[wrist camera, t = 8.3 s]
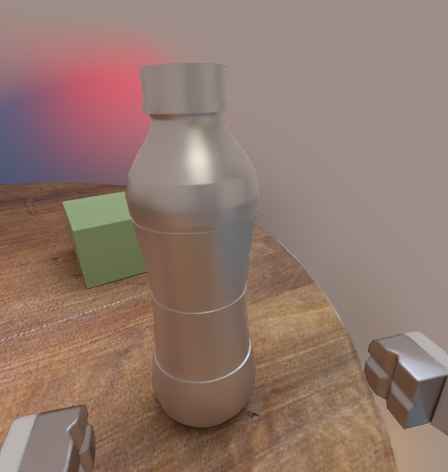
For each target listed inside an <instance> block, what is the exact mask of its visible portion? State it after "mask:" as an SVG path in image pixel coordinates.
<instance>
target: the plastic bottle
mask: <svg viewBox="0 0 448 472" xmlns="http://www.w3.org/2000/svg"><path fill="white" fill-rule="evenodd" d="M140 72H141V73H140V79H141V87H142V94H143V101H144V103H142V111H143V114H149V115H150V117H151V130H150V132H149V134H148V136H147V137H146V139H145V141H144V143H143V145H142V146H141V148H140V150H139V152H138V154H137V156H136V158H135V160H134V163H133V165H132V167H131V170H130V172H129V174H128V178H127V185H126V191H125V197H126V201H127V206H128V210H129V214H130V216H131V220H132V223H133V226H134V230H135V233H136V236H137V239H138V242H139V246H140V249H141V252H142V255H143V259H144V262H145V267H146V272H147V277H148V282H149V286H150V289H151V297H152V302H153V307H154V333H155V348H154V355H153V377H152V382H153V386H154V390H155V392H156V395H157V397H158V400H159V402H160V404H161V406H162V408H163V410H164V411H165V412H166V413H167V414H168V415H169V416H170V417H171V418H173V419H174V420H176V421H177V422H180V423H182V424H185V425H188V426H192V427H198V428H205V427H212V426H216V425H219V424H221V423H224V422H225V421H227V420H228V419H230V418H232V417H233V416H235V415H236V414H237V413H238V412H239V411H240V410H241V409H242V408H243V407H244V406H245V404H246V403H247V401H248V399H249V397H250V394H251V391H252V387H253V383H254V379H255V374H256V367H255V359H254V352H253V347H252V343H251V339H250V337H249V327H248V315H247V304H246V294H247V279H248V265H249V253H250V247H251V242H252V236H253V230H254V224H255V218H256V212H257V210H256V208H257V205H258V198H259V184H258V180H257V176H256V173H255V169H254V166H253V165H252V163H251V161H250V160H249V158H248V156H247V155H246V153H245V152H244V150H243V148H242V147H241V146H240V145H239V143H238V142H237V141H236V139H235V138H234V137H233V135H232V134H231V133H230V131H229V130H228V129H227V127H226V125H225V120H224V112H225V111H230V101H229V100H228V96H227V95H228V93H227V71H226V66H225V65H221V64H213V63H168V64H155V65H147V66H143V67H140Z"/></svg>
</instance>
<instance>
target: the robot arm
mask: <svg viewBox="0 0 448 472" xmlns="http://www.w3.org/2000/svg"><path fill="white" fill-rule="evenodd" d="M368 352H369V353H370V354H371V356H370V357H369V359H368V360H367V361H366V363H365V369H364V371H365V375H366V379H367V382H368V383H369V385H370V387H371V388H372V390H373V391H374V392H375V394H376V395H378V396H380V397H382V398H383V399H385V400H386V404H387V409H388V410H389V411H390V412H391V414H392V415H393V416H394V417H395V419H396V420H397V421H398V422H399V424H400V425H401V426H402V427H403V429H407V428H411V427H415V426H419V425H422V424H427V423H431V425H432V426H434V427H435V428H437V429H439V430H440V431H442V432H443V433H445V434H446V435H448V354H447V353H446V352H445V351H444V350H442V349H441V348H440V347H438V346H437V345H436V344H435V343H434V342H432V341H431V340H430V339H429V338H428V337H426V336H425V335H424V334H423V333H420V332H418V331H414V332H409V333H405V334H401V335H395V336H391V337H386V338H382V339H378V340H373V341H372V342H371V343H370V344H369V348H368ZM87 420H88V411H87V408H86V405H78V406H73V407H68V408H63V409H57V410H52V411H47V412H42V413H38V414H33V415H28V416H23V417H18V418H16V419H15V421H14V422H13V423H12V424H11V426H10V428H9V431H8V433H7V436H6V438H5V441H4V443H3V445H2V448H1V450H0V472H91V471H92V469H93V468H94V461H95V435H94V430H93V427H92V425H90V424H88V423H87Z"/></svg>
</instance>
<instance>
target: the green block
mask: <svg viewBox="0 0 448 472" xmlns="http://www.w3.org/2000/svg"><path fill="white" fill-rule="evenodd" d="M62 203H63V207H64V211H65V215H66V219H67V223H68V227H69V231H70V235H71V239H72V243H73V247H74V250H75V253H76V256H77V259H78V263H79V266H80V269H81V272H82V275H83V278H84V281H85V284H86V287H87V289H89V288H92V287H96V286H99V285H103V284H106V283H110V282H113V281H116V280H120V279H123V278H127V277H130V276H134V275H137V274H141V273H144V272H146V267H145V262H144V259H143V255H142V252H141V249H140V246H139V242H138V239H137V236H136V233H135V230H134V226H133V223H132V220H131V216H130V214H129V210H128V206H127V201H126V197H125V192H120V193H114V194H107V195H101V196H95V197H89V198H83V199H77V200H71V201H65V202H62Z"/></svg>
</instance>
